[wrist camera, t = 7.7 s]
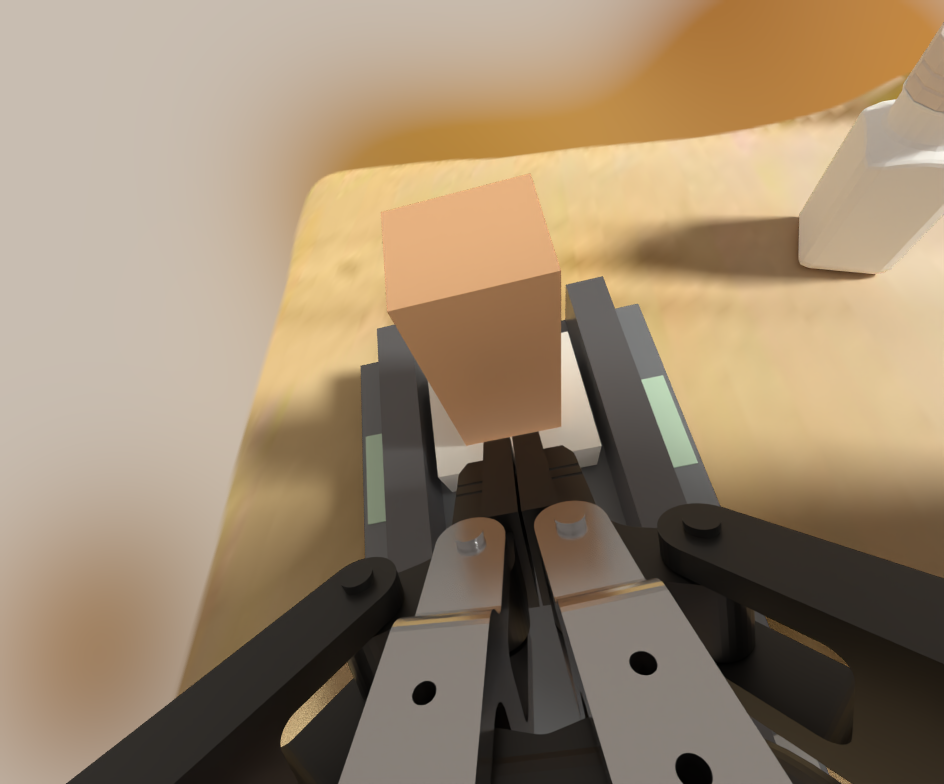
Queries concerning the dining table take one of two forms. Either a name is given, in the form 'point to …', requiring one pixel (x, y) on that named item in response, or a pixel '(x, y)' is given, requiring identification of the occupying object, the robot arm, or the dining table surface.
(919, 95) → the salt shaker
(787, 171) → the dining table surface
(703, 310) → the dining table surface
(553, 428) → the switch lever
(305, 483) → the dining table surface
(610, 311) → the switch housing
